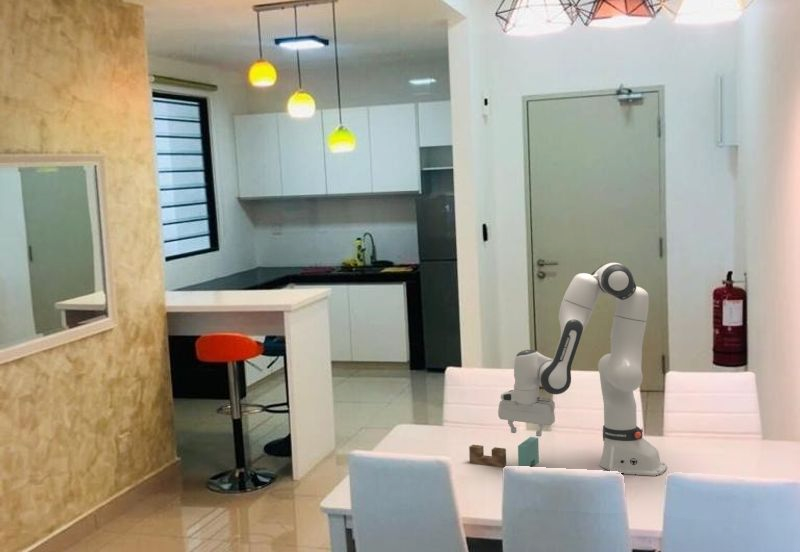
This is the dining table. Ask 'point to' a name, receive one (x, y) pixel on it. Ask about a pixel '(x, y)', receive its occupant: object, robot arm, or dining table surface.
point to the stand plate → (479, 457)
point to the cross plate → (528, 452)
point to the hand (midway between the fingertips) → (526, 434)
